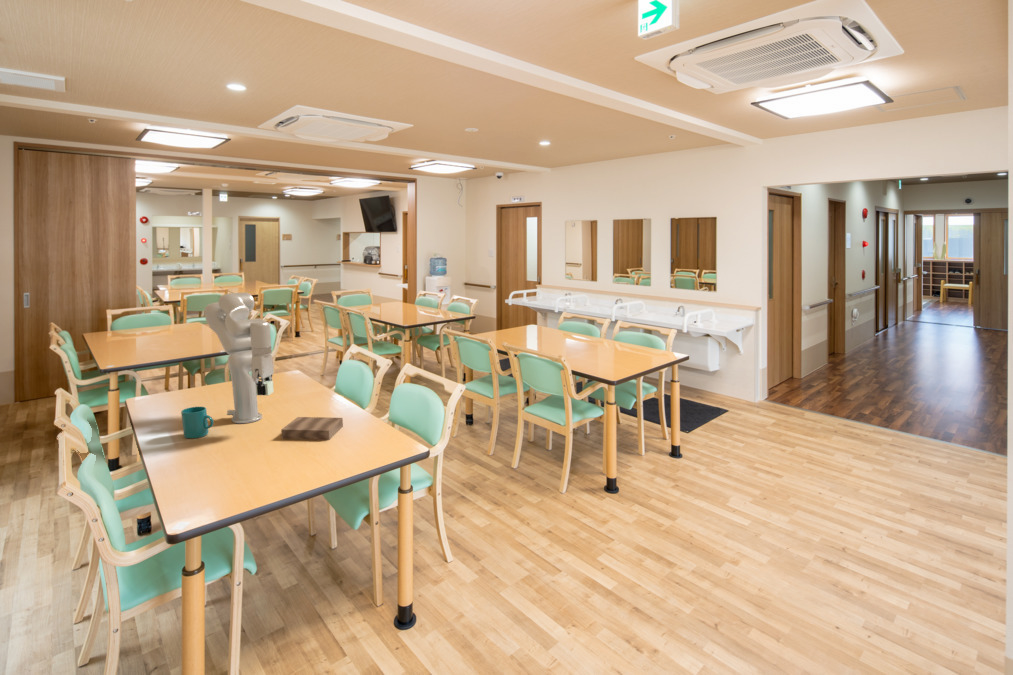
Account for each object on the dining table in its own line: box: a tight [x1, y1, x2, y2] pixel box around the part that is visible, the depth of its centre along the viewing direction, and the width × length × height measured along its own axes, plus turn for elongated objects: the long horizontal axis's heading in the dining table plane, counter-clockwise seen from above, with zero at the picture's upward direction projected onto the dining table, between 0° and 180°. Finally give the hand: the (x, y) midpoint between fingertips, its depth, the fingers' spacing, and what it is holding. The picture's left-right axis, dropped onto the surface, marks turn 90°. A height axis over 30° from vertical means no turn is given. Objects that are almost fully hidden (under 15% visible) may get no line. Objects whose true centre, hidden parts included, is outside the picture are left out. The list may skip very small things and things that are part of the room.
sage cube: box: [256, 380, 275, 396], centre depth 225 cm, size 5×5×5 cm
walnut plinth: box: [280, 416, 344, 441], centre depth 228 cm, size 20×16×4 cm
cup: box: [180, 406, 215, 439], centre depth 223 cm, size 9×12×11 cm
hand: (265, 392), depth 226 cm, fingers closed on sage cube, 5 cm apart
